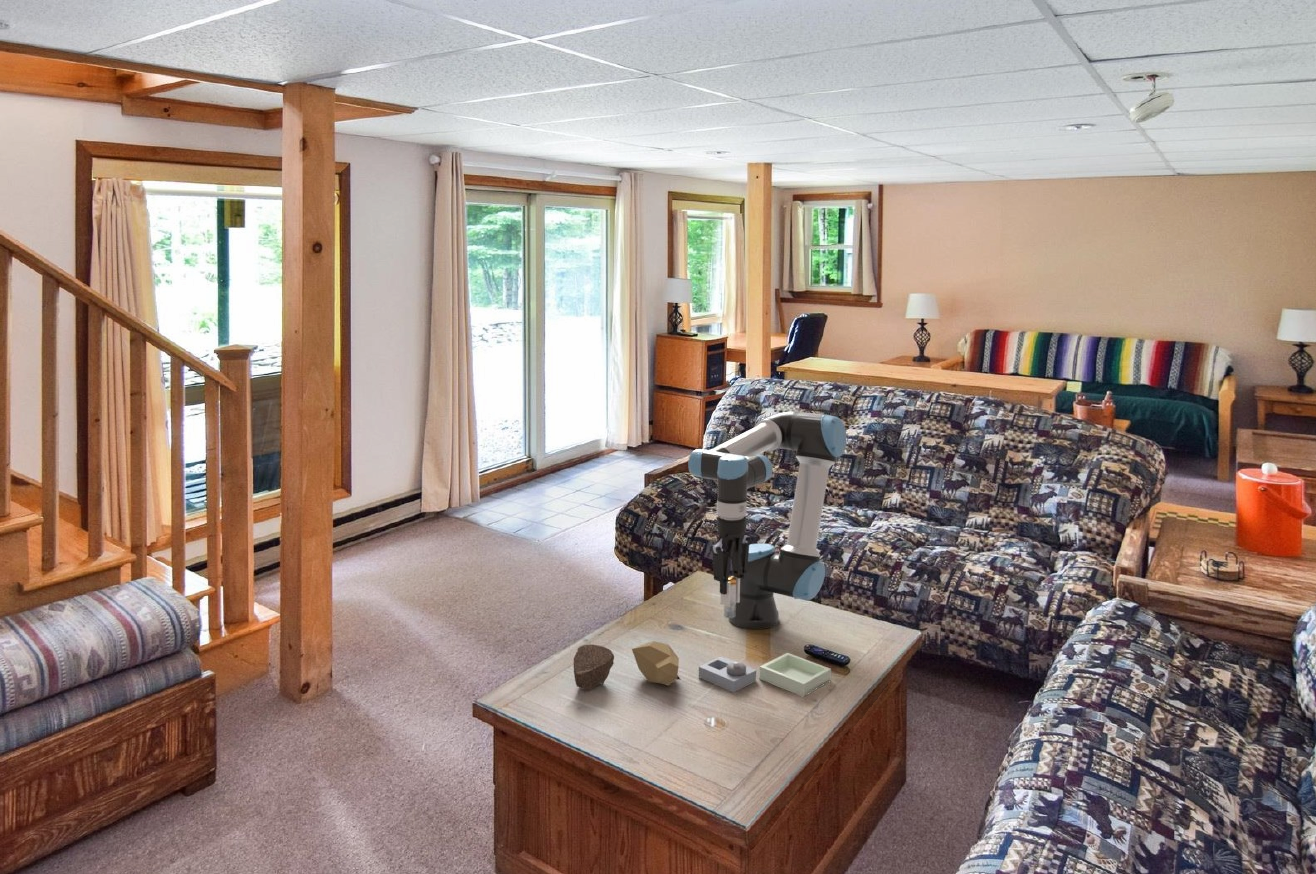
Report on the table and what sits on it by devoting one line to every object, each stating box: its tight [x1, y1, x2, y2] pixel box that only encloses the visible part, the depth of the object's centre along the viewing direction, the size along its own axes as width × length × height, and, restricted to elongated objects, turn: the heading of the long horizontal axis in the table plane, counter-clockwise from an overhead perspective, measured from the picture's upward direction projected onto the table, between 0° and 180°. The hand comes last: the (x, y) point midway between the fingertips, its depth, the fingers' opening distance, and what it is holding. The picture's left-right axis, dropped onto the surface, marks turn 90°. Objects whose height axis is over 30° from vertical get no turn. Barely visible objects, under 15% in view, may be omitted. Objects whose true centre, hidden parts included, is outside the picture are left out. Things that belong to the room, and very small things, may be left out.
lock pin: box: [723, 576, 736, 619], centre depth 243 cm, size 3×3×10 cm
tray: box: [759, 652, 832, 697], centre depth 245 cm, size 14×12×4 cm
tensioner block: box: [698, 655, 757, 693], centre depth 245 cm, size 12×9×6 cm
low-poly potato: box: [631, 641, 681, 686], centre depth 243 cm, size 15×11×12 cm
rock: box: [573, 644, 615, 692], centre depth 241 cm, size 12×10×10 cm
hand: (730, 602), depth 243 cm, fingers closed on lock pin, 3 cm apart
